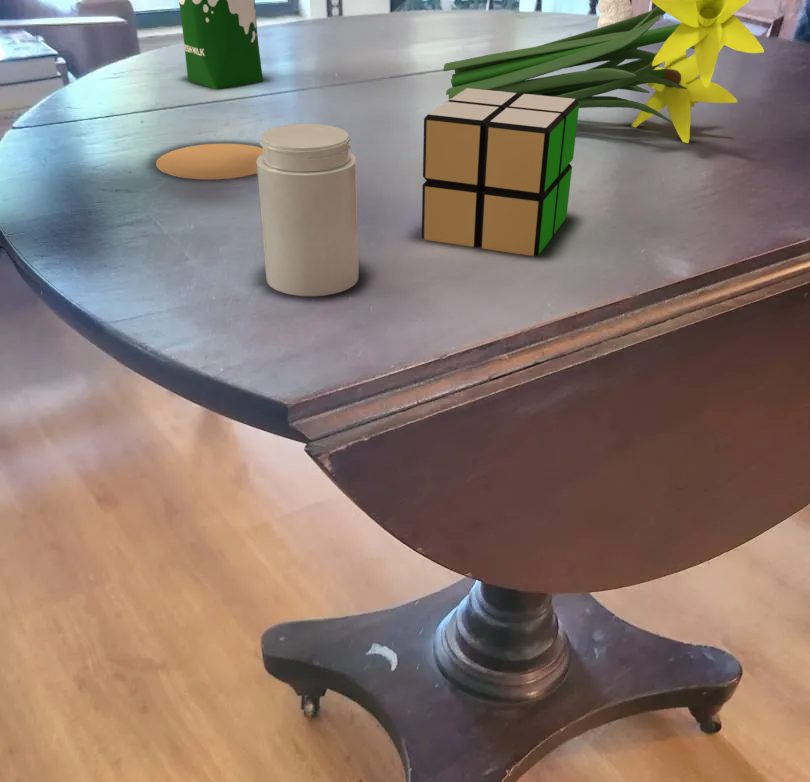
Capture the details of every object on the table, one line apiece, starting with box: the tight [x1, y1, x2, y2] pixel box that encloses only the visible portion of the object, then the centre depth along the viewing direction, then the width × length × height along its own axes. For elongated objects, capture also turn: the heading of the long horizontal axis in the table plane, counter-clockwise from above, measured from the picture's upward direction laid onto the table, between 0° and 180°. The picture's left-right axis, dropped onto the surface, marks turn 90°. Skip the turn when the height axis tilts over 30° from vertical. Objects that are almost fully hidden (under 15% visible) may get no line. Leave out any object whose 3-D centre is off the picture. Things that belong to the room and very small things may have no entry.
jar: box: [256, 123, 360, 297], centre depth 68 cm, size 7×7×11 cm
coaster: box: [155, 143, 263, 180], centre depth 94 cm, size 12×12×1 cm
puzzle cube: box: [421, 88, 580, 257], centre depth 77 cm, size 10×10×10 cm
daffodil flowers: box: [442, 0, 765, 144], centre depth 100 cm, size 17×15×35 cm
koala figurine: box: [597, 0, 634, 29], centre depth 139 cm, size 8×7×12 cm
